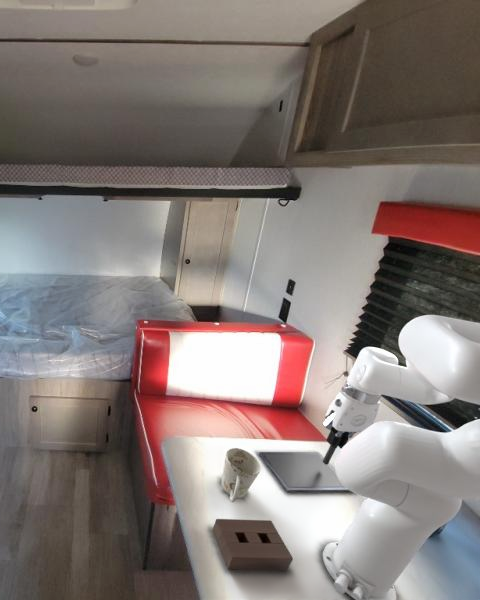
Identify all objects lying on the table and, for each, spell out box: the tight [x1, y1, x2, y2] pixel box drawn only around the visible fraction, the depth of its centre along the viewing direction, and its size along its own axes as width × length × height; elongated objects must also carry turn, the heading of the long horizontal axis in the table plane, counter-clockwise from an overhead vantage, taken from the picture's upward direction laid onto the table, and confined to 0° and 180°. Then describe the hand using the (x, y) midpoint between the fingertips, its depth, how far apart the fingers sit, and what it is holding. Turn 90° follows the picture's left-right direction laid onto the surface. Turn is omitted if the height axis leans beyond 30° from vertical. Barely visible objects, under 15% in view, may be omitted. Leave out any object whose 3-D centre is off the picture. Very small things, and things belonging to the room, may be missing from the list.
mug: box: [221, 447, 262, 503], centre depth 86 cm, size 8×13×10 cm, turn 152°
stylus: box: [323, 431, 345, 465], centre depth 95 cm, size 1×1×13 cm
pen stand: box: [211, 518, 294, 571], centre depth 74 cm, size 8×13×4 cm, turn 92°
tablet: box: [258, 451, 353, 493], centre depth 97 cm, size 20×13×1 cm, turn 95°
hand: (334, 444), depth 95 cm, fingers closed on stylus, 1 cm apart
